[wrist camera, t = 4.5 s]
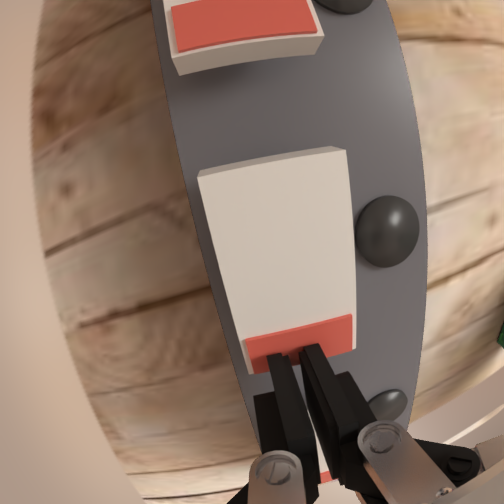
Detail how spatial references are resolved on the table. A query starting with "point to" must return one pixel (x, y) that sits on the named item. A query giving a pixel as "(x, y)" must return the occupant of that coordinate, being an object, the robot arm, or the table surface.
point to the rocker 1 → (239, 31)
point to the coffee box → (501, 337)
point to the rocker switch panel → (360, 177)
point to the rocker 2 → (285, 251)
